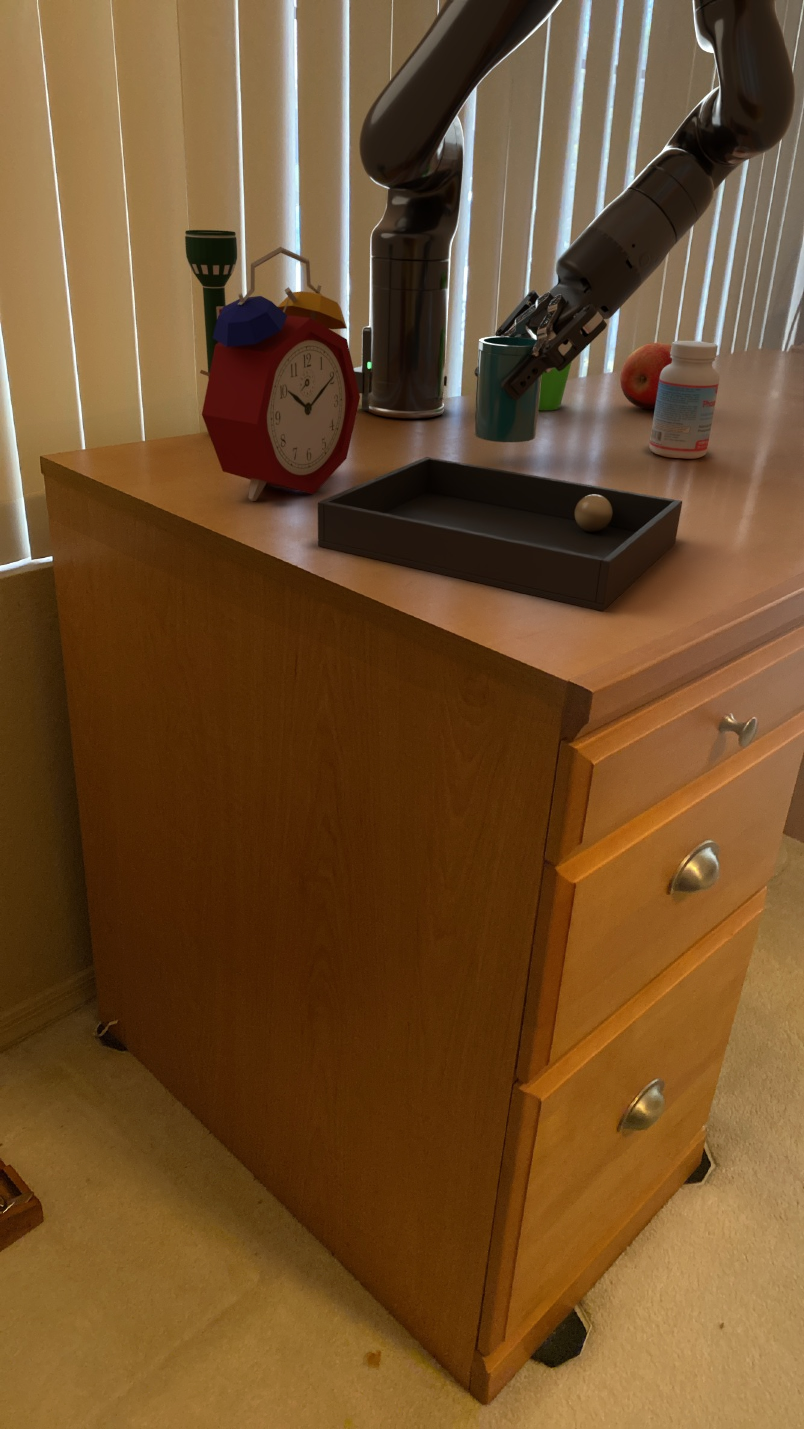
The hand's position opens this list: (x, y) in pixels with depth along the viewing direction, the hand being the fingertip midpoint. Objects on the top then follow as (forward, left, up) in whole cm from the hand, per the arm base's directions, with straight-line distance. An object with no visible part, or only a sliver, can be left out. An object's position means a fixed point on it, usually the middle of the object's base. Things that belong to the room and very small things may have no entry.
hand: (494, 386), depth 96 cm
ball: (+17, -17, -6) cm, 25 cm away
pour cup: (+1, +1, -5) cm, 5 cm away
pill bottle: (+15, +16, -8) cm, 23 cm away
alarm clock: (-12, -20, -8) cm, 24 cm away
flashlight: (-29, -7, -8) cm, 31 cm away
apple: (+5, +38, -8) cm, 39 cm away
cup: (-7, +30, -8) cm, 32 cm away
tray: (+12, -23, -8) cm, 27 cm away
